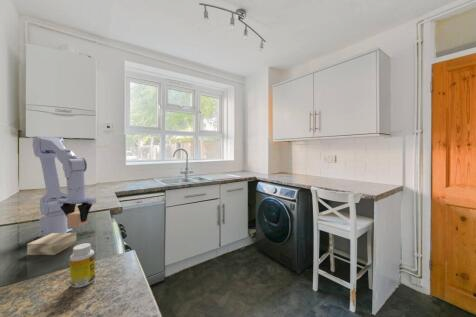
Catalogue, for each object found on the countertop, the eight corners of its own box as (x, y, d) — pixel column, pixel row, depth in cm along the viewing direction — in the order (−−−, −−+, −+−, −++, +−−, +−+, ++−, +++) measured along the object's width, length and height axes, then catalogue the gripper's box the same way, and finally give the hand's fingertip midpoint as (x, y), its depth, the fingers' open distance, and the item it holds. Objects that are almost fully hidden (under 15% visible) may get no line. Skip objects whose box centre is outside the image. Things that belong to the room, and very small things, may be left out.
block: (67, 227, 85) (67, 214, 84) (76, 223, 89) (76, 211, 89) (79, 226, 84) (78, 214, 84) (87, 222, 89) (87, 211, 89)
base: (27, 254, 76) (26, 243, 76) (52, 242, 86) (52, 233, 86) (54, 254, 76) (53, 243, 76) (76, 242, 86) (76, 232, 86)
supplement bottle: (93, 284, 58) (92, 247, 58) (68, 291, 56) (66, 252, 55) (97, 274, 63) (95, 240, 63) (73, 279, 61) (72, 244, 60)
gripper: (49, 190, 82) (51, 225, 83) (86, 189, 82) (88, 224, 83) (64, 187, 89) (66, 219, 90) (98, 186, 89) (100, 218, 90)
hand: (77, 221), depth 87 cm, fingers closed on block, 5 cm apart
